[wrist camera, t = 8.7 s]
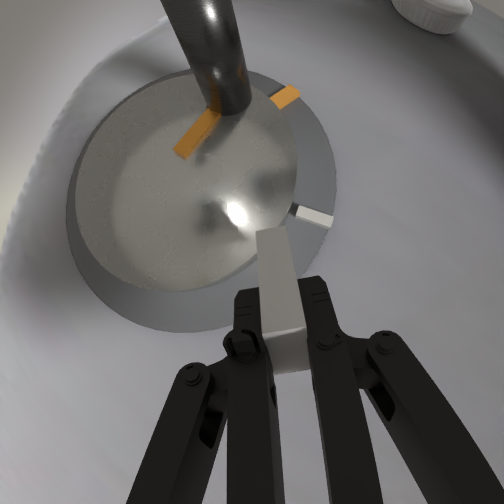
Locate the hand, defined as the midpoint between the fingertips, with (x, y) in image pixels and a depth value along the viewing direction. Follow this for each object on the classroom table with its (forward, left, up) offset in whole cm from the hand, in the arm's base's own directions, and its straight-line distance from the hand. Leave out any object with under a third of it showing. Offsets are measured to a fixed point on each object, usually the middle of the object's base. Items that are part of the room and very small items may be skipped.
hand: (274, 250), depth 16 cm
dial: (+3, -10, -5) cm, 12 cm away
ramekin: (-34, -18, -7) cm, 39 cm away
